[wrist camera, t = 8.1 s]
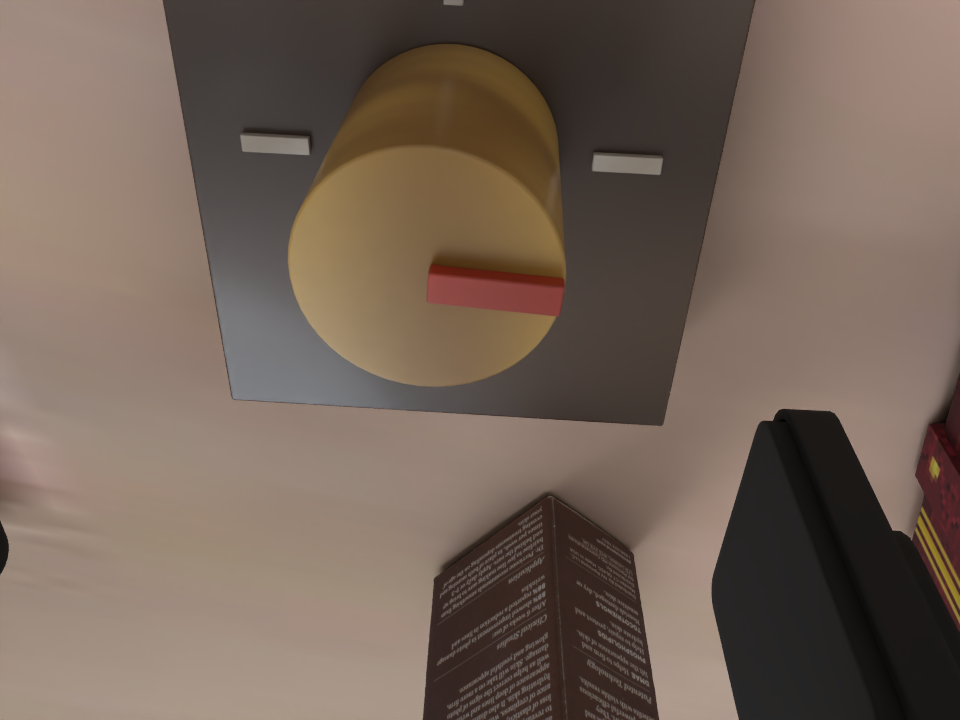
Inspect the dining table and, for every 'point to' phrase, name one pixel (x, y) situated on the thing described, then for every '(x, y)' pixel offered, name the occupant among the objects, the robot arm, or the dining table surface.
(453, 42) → the lock plate
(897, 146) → the dining table surface
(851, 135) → the dining table surface
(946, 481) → the decorative book
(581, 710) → the box
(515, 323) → the lock knob
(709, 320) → the dining table surface
